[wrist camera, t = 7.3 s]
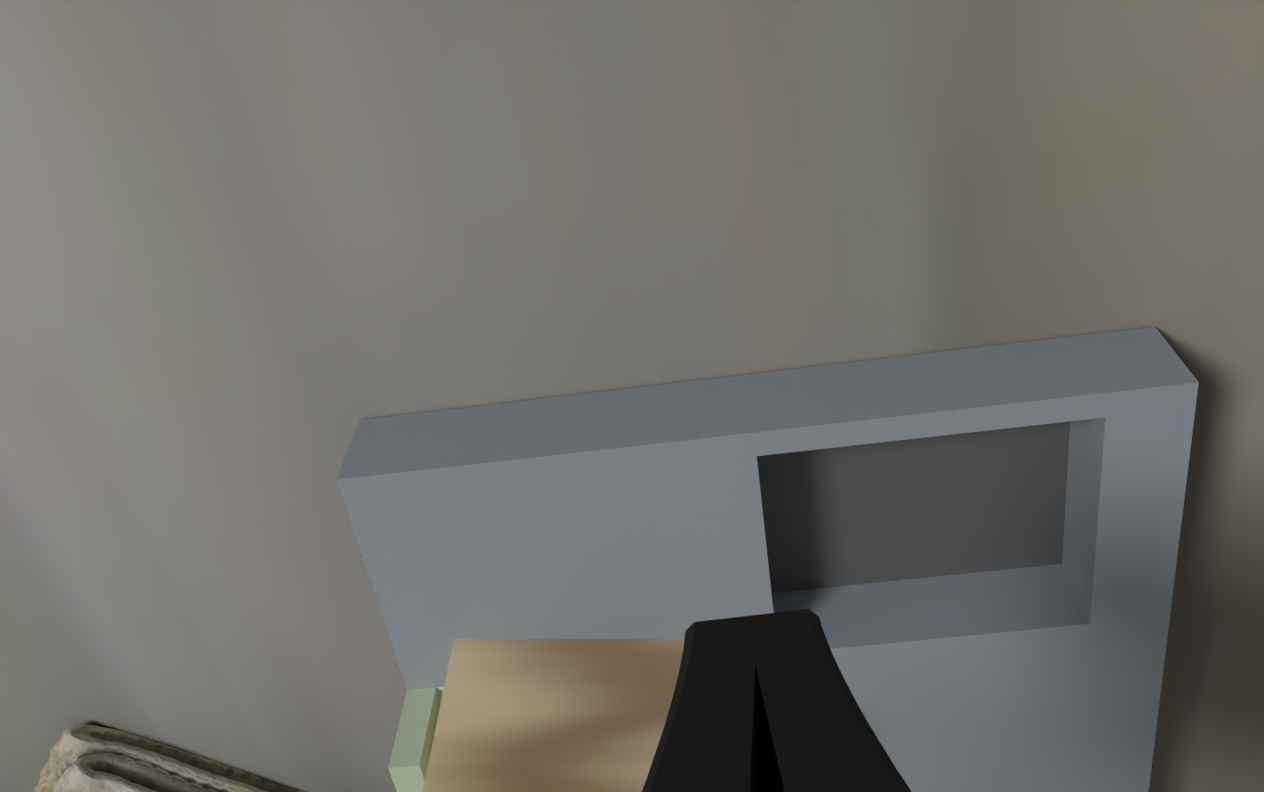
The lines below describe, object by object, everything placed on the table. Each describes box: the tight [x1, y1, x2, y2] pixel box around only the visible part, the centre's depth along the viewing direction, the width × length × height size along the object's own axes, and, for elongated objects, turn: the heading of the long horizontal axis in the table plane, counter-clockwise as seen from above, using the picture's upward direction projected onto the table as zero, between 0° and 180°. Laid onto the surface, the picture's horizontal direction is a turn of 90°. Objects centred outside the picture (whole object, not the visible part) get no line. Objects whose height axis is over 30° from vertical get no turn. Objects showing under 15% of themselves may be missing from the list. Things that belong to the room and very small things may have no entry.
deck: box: [337, 327, 1199, 792], centre depth 25 cm, size 15×16×4 cm
